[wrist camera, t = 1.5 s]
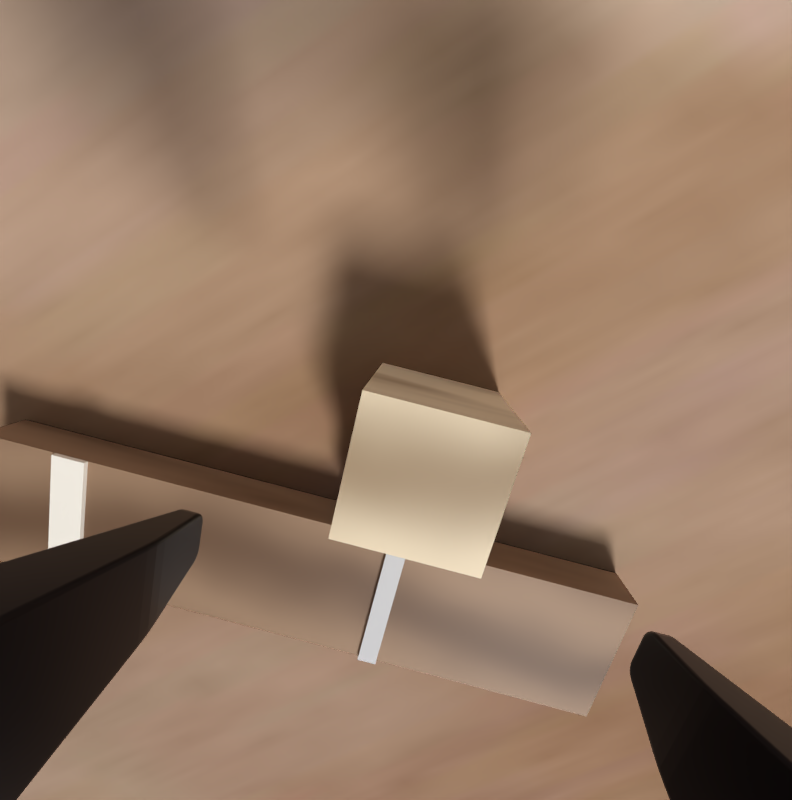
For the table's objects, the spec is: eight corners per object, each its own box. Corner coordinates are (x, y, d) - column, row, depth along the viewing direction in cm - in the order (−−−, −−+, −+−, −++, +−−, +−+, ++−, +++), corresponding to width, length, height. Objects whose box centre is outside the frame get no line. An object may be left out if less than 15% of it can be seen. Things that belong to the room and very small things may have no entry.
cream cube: (458, 521, 19) (470, 609, 13) (351, 493, 19) (320, 570, 13) (498, 392, 17) (531, 433, 12) (382, 362, 17) (362, 389, 12)
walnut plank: (571, 676, 20) (588, 721, 18) (24, 531, 20) (-24, 558, 18) (616, 573, 18) (640, 608, 16) (25, 419, 19) (-26, 434, 17)
